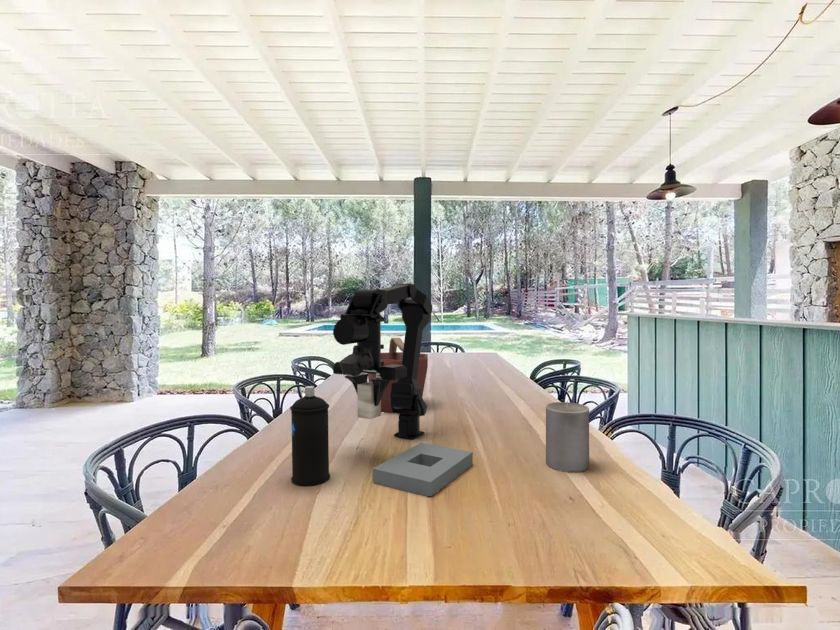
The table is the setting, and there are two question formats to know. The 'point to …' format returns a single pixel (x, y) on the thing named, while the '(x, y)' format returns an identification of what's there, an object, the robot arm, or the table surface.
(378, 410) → the cream peg
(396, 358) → the bucket
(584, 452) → the pillar candle
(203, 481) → the table surface
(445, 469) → the socket block
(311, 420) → the aerosol can
